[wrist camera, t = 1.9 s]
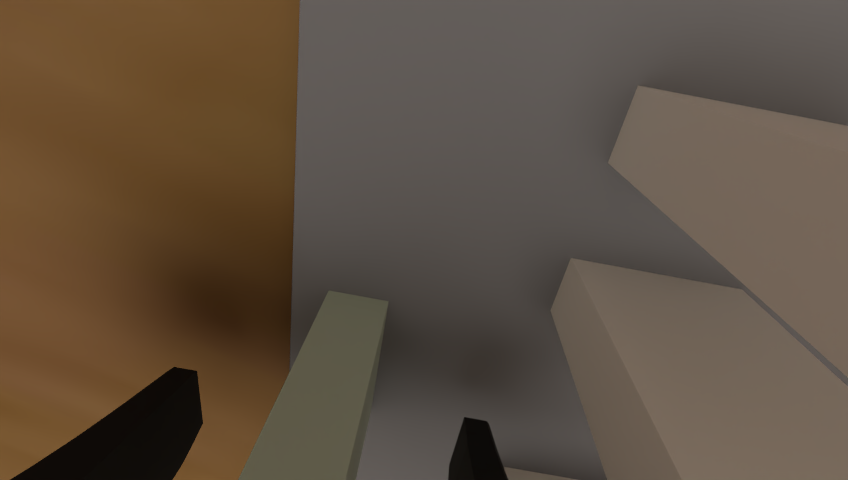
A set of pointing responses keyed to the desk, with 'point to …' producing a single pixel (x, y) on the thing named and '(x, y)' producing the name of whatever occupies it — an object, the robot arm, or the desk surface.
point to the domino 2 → (752, 200)
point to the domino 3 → (695, 381)
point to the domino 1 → (530, 475)
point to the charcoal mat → (510, 190)
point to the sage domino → (324, 397)
